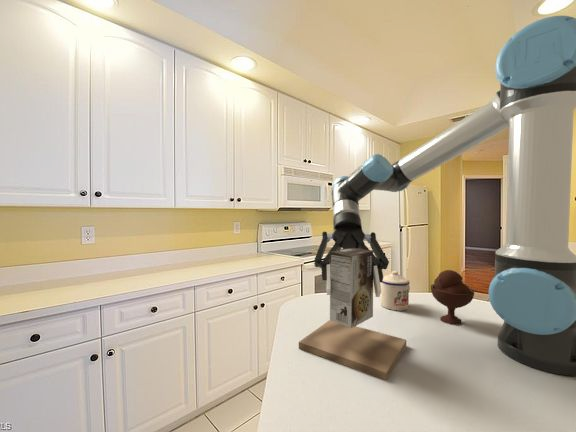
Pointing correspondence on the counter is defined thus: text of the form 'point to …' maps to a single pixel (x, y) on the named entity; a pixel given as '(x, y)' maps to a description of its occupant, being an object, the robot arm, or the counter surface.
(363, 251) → the coffee box
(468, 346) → the counter surface
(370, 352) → the walnut board
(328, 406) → the counter surface
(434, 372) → the counter surface
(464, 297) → the ice cream bowl
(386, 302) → the teacup with lid
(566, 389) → the counter surface
